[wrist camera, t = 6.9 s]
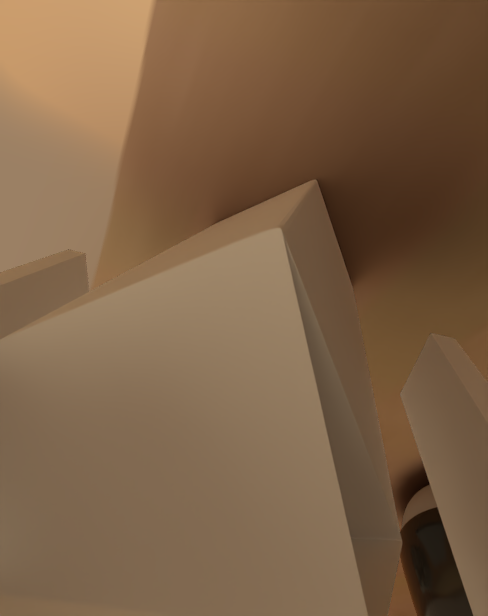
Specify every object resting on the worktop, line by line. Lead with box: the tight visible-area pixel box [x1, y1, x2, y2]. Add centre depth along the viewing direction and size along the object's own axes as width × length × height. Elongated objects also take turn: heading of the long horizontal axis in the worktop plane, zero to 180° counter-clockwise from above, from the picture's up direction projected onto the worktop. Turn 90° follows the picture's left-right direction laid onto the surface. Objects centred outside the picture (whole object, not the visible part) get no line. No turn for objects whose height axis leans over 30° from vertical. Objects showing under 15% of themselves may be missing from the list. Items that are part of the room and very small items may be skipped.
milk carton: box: [0, 179, 402, 616], centre depth 12 cm, size 7×7×19 cm
